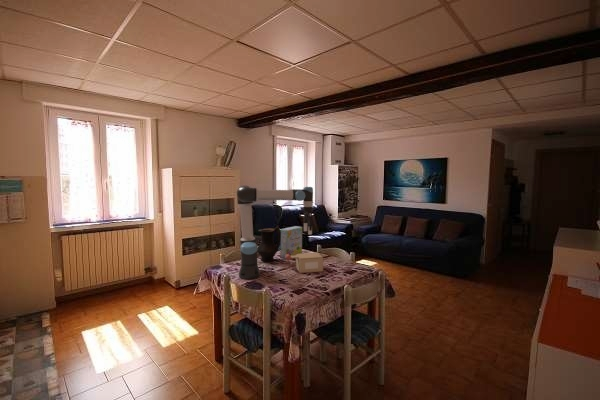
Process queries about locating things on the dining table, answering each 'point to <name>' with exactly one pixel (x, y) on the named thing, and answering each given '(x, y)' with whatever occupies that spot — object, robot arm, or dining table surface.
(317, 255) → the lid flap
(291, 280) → the dining table surface
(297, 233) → the snack box
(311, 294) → the dining table surface
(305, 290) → the dining table surface
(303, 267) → the carton
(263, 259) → the jug
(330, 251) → the dining table surface
